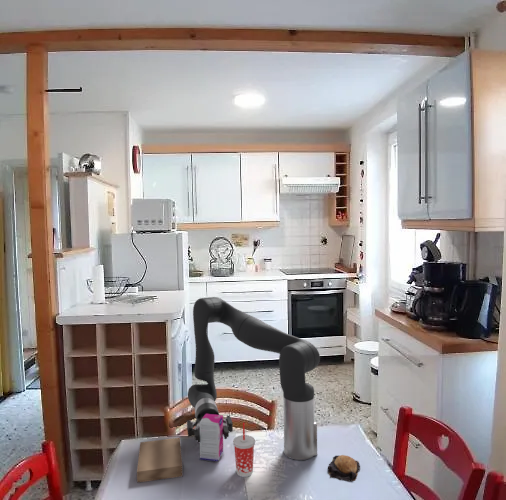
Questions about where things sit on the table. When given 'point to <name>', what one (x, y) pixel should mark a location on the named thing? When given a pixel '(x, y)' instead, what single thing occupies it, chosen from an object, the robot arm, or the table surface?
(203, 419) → the supplement box
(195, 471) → the table surface
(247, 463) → the beverage cup
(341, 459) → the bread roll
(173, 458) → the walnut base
